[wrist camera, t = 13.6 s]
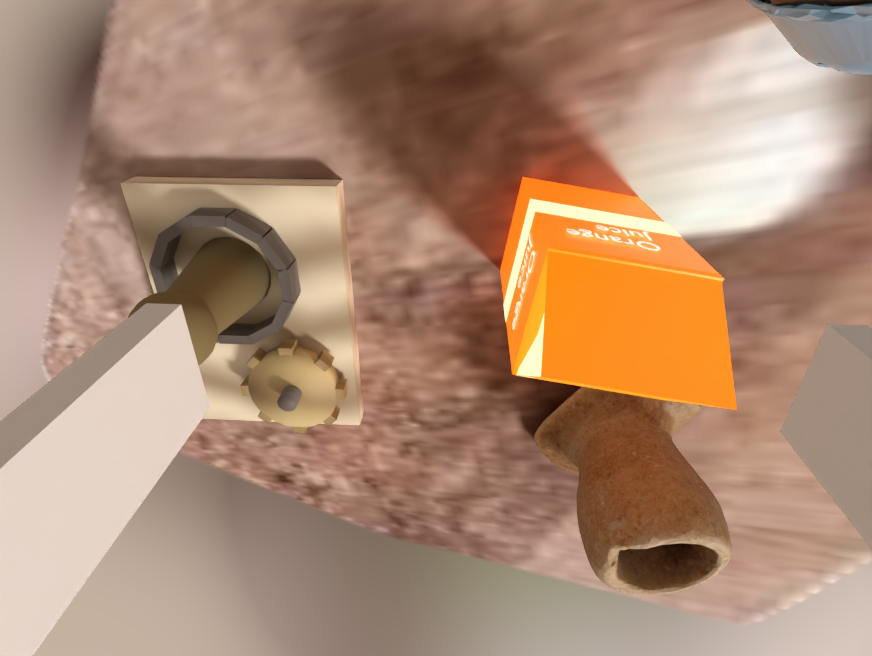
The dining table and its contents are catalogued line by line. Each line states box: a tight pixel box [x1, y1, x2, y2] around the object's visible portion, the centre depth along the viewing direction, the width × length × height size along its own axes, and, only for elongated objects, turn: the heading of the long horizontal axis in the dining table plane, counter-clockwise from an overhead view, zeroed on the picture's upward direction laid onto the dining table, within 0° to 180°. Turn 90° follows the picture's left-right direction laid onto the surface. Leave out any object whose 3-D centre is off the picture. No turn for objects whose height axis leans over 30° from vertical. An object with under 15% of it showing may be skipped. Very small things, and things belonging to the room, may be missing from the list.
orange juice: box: [500, 177, 737, 410], centre depth 30 cm, size 8×9×20 cm
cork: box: [128, 237, 271, 365], centre depth 35 cm, size 6×6×11 cm
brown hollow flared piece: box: [534, 387, 732, 595], centre depth 40 cm, size 15×12×15 cm
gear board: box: [120, 177, 364, 433], centre depth 41 cm, size 22×16×6 cm
